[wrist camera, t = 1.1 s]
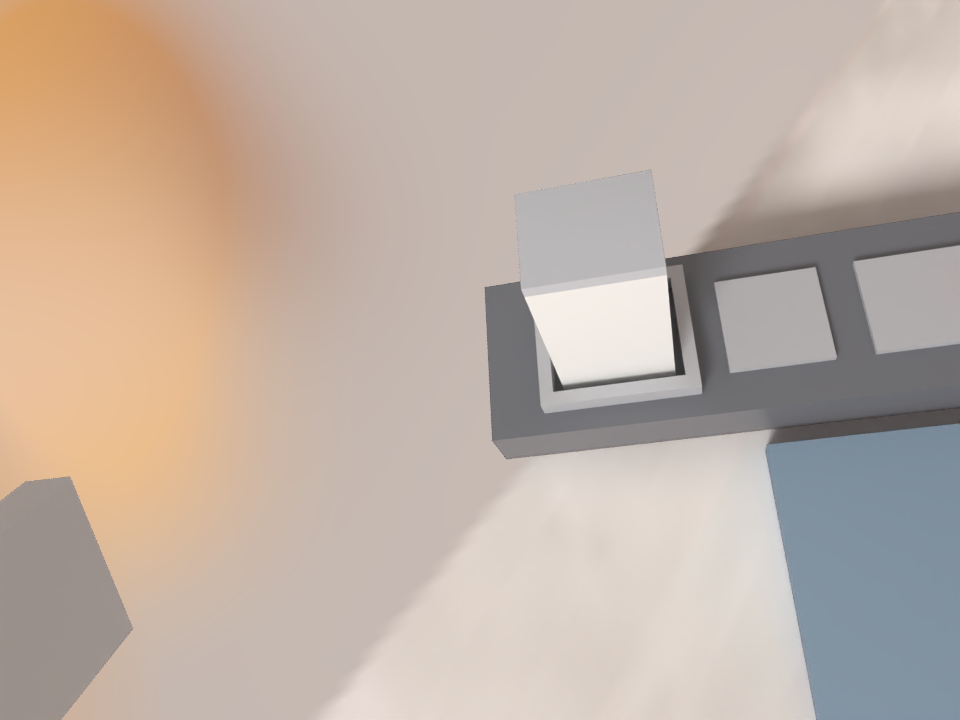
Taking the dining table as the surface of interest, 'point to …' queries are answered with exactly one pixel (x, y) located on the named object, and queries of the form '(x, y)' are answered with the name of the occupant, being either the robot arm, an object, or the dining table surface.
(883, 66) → the dining table surface
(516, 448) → the power strip
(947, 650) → the mat
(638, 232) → the block
